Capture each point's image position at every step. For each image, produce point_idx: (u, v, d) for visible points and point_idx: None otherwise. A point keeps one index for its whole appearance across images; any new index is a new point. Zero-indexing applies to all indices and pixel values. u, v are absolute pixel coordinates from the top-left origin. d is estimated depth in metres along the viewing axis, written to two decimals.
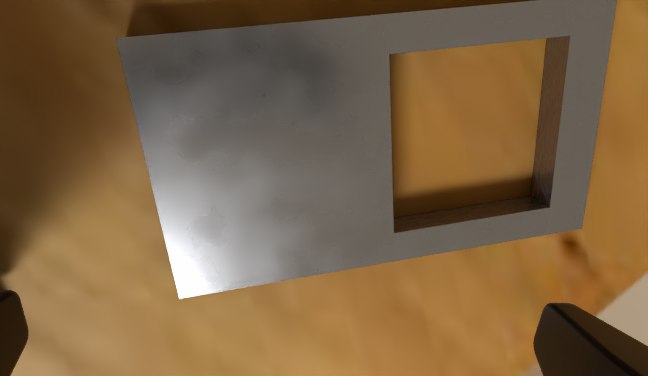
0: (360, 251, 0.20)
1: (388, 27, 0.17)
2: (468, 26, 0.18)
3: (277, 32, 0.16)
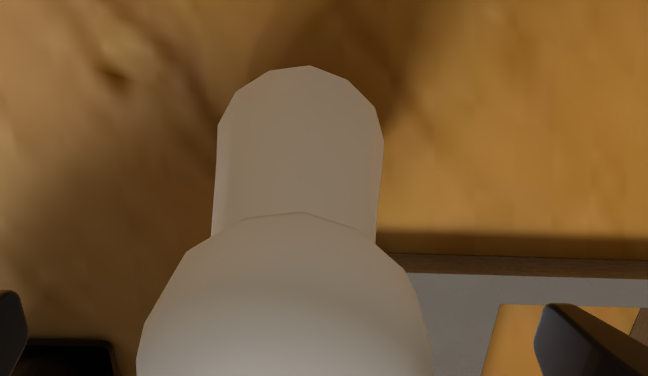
0: None
1: (504, 285, 0.19)
2: (578, 291, 0.19)
3: None
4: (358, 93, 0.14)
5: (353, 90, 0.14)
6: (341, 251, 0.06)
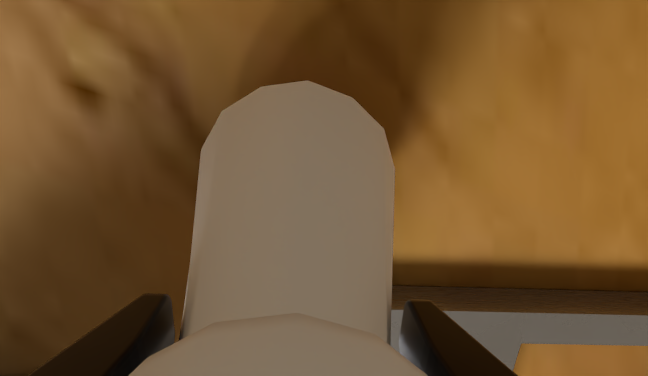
0: None
1: (527, 323, 0.17)
2: (608, 329, 0.17)
3: None
4: (365, 113, 0.12)
5: (359, 110, 0.12)
6: None
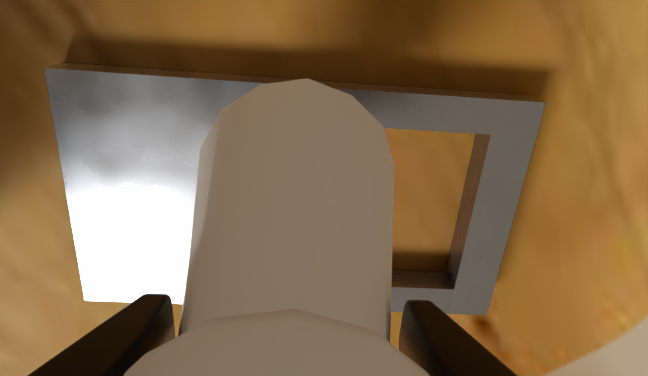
0: None
1: None
2: (384, 109, 0.18)
3: (194, 86, 0.17)
4: (364, 111, 0.12)
5: (359, 108, 0.12)
6: None
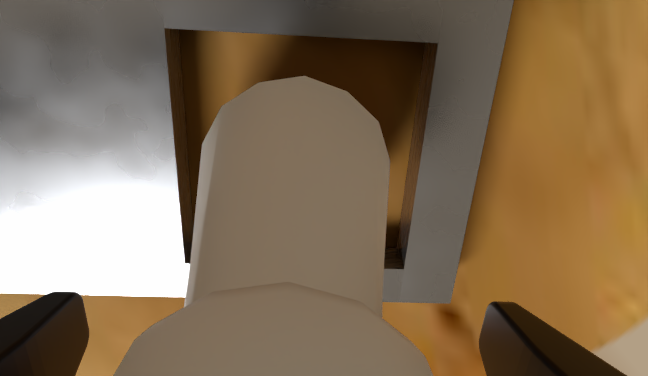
0: (140, 277, 0.16)
1: None
2: (280, 5, 0.12)
3: None
4: (360, 106, 0.13)
5: (354, 103, 0.12)
6: (341, 354, 0.04)
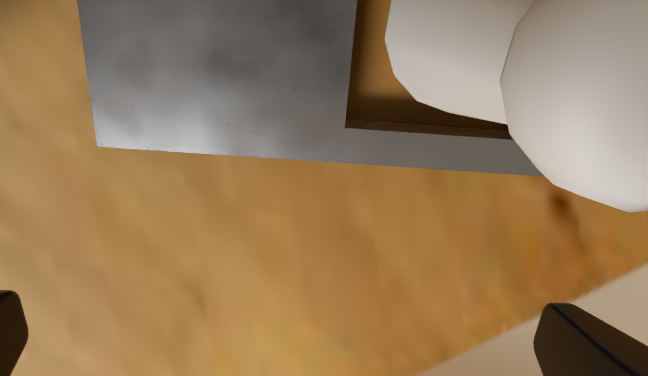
0: (303, 140, 0.18)
1: None
2: None
3: None
4: None
5: None
6: None
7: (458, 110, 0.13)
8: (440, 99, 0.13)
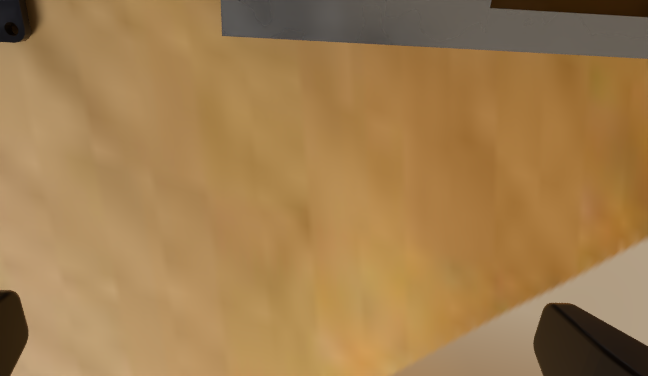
0: (444, 24, 0.17)
1: None
2: None
3: None
4: None
5: None
6: None
7: None
8: None
